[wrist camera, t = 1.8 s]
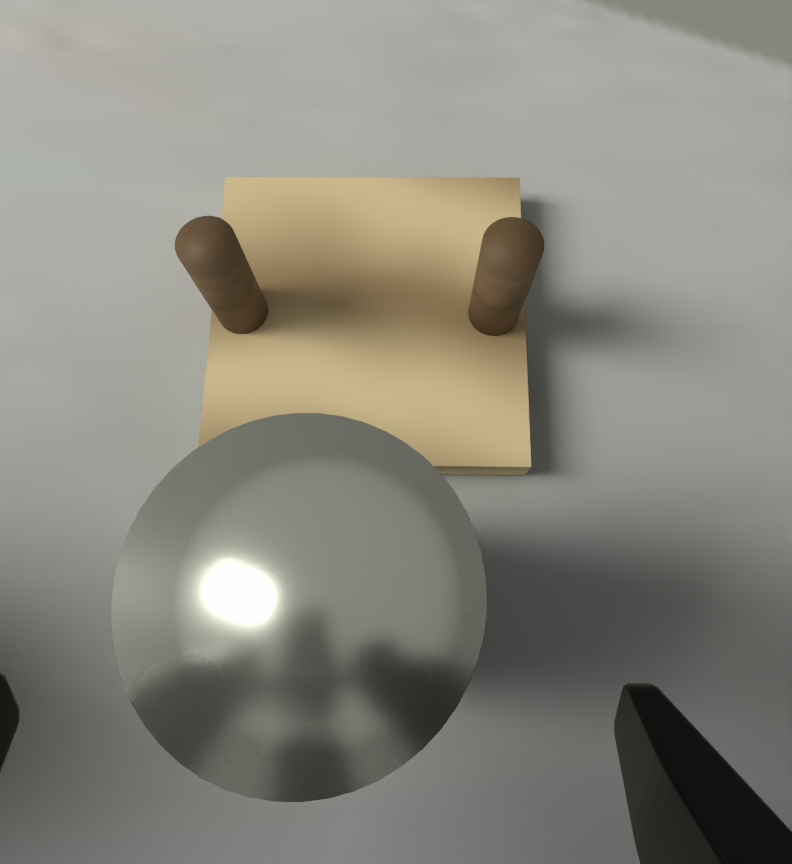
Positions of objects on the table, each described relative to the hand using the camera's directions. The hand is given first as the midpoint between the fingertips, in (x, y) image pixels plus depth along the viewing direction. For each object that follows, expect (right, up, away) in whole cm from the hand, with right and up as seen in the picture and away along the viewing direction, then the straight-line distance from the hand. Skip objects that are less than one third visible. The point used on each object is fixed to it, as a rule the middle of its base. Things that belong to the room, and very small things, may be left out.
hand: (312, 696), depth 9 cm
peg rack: (0, +7, +12) cm, 15 cm away
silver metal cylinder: (0, -1, +10) cm, 10 cm away
